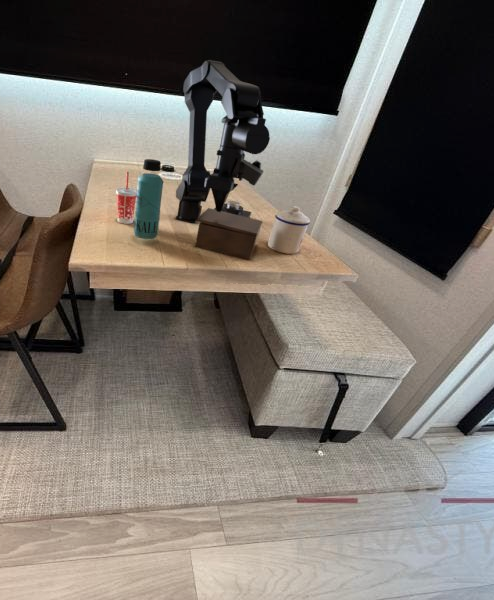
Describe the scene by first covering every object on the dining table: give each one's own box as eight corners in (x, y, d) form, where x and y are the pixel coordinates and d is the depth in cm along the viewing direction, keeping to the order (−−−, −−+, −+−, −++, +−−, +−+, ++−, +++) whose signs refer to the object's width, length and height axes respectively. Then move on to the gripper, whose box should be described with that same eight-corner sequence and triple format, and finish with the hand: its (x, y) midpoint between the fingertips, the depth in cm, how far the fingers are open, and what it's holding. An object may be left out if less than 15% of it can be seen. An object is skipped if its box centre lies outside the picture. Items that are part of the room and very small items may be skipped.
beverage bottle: (145, 233, 91) (152, 156, 80) (162, 241, 87) (172, 162, 76) (127, 238, 87) (132, 157, 76) (144, 247, 83) (152, 163, 72)
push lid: (225, 207, 109) (226, 202, 108) (228, 205, 112) (229, 200, 111) (237, 210, 108) (238, 205, 107) (239, 207, 111) (240, 202, 110)
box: (195, 246, 87) (199, 223, 84) (206, 233, 96) (210, 212, 93) (249, 260, 83) (256, 236, 80) (255, 245, 92) (261, 223, 89)
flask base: (209, 218, 109) (212, 206, 107) (216, 210, 117) (218, 199, 115) (245, 226, 106) (248, 213, 104) (249, 218, 114) (252, 206, 112)
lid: (196, 221, 84) (197, 218, 83) (207, 210, 93) (208, 207, 93) (256, 236, 80) (257, 233, 79) (261, 223, 89) (262, 221, 89)
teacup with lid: (304, 255, 90) (320, 214, 83) (273, 253, 89) (286, 211, 82) (287, 239, 100) (300, 200, 94) (259, 236, 99) (270, 198, 92)
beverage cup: (136, 219, 100) (140, 171, 93) (133, 225, 95) (137, 175, 88) (117, 216, 100) (119, 168, 93) (112, 222, 95) (114, 172, 88)
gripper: (261, 156, 68) (243, 228, 76) (270, 148, 83) (254, 209, 91) (210, 148, 71) (198, 218, 79) (227, 142, 86) (215, 201, 94)
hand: (218, 211), depth 86 cm, fingers closed
